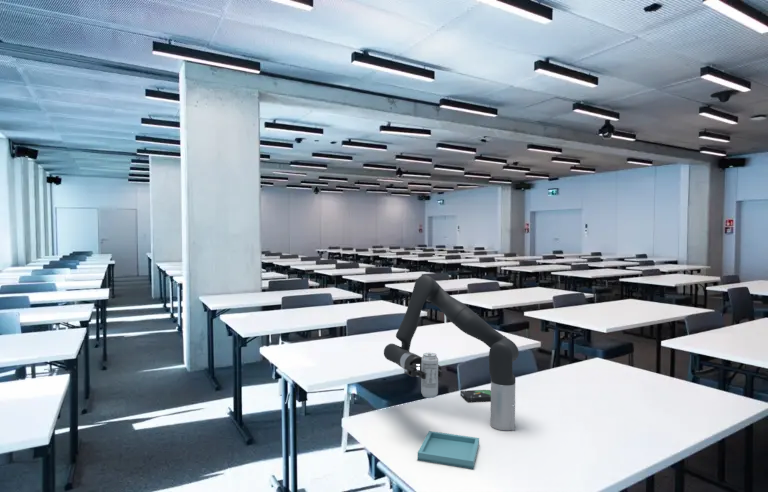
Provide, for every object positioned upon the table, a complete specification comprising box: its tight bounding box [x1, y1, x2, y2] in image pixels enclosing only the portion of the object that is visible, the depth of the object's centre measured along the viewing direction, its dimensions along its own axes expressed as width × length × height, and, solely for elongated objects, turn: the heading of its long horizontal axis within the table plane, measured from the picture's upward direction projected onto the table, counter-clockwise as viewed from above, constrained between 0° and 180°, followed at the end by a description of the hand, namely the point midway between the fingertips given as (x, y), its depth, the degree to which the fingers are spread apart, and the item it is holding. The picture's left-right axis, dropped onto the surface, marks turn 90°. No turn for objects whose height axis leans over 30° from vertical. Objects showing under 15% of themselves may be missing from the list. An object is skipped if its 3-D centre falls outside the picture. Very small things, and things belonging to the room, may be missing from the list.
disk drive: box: [460, 389, 491, 404], centre depth 207 cm, size 10×3×15 cm
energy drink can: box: [420, 352, 439, 399], centre depth 163 cm, size 6×6×15 cm
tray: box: [417, 430, 480, 470], centre depth 152 cm, size 18×18×2 cm
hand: (433, 375), depth 161 cm, fingers closed on energy drink can, 6 cm apart
